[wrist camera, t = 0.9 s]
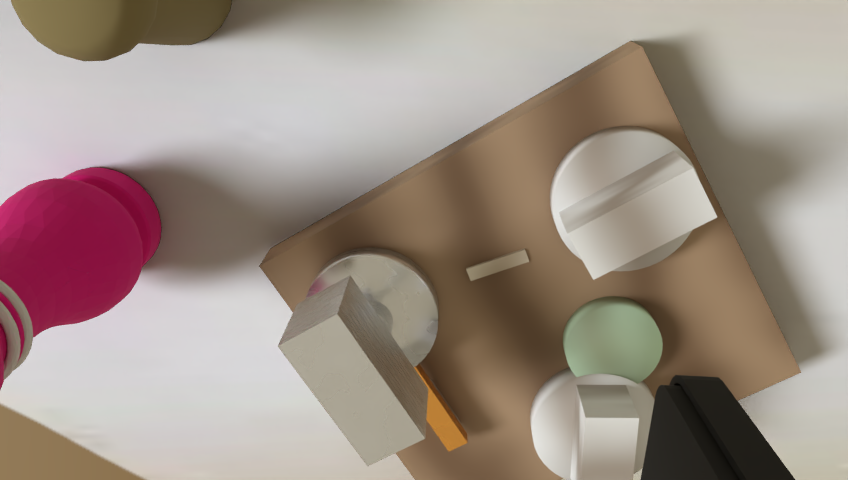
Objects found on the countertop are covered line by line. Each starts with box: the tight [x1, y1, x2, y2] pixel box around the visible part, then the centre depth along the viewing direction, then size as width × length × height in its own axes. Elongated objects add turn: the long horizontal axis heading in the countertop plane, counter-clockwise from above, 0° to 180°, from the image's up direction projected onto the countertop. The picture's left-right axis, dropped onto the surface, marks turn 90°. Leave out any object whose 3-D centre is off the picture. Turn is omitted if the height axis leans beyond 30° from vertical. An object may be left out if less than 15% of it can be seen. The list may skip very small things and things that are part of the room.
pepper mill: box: [0, 168, 161, 389], centre depth 32 cm, size 7×7×20 cm
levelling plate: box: [260, 41, 801, 480], centre depth 38 cm, size 22×20×7 cm
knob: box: [278, 247, 468, 466], centre depth 36 cm, size 12×7×8 cm, turn 31°
